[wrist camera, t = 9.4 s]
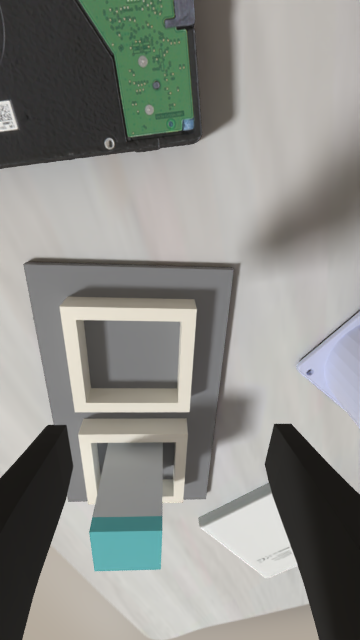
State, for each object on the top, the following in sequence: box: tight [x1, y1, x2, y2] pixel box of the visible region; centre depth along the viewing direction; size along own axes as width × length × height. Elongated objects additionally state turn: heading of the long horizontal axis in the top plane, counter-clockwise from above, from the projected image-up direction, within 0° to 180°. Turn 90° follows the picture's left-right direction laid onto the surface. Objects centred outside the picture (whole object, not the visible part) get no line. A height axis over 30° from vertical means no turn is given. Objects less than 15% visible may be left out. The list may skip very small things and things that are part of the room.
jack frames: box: [60, 297, 197, 504], centre depth 21 cm, size 17×8×2 cm, turn 178°
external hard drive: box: [198, 483, 298, 578], centre depth 30 cm, size 2×8×12 cm
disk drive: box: [0, 0, 202, 169], centre depth 12 cm, size 10×3×15 cm
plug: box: [89, 442, 163, 571], centre depth 21 cm, size 4×4×7 cm
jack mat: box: [23, 262, 234, 502], centre depth 22 cm, size 21×12×1 cm, turn 178°
